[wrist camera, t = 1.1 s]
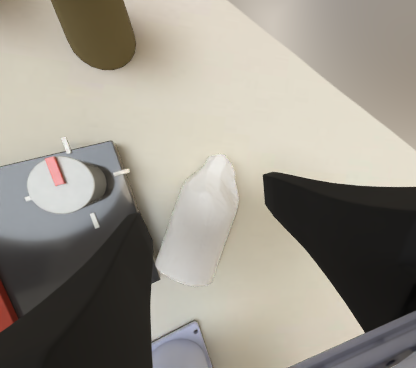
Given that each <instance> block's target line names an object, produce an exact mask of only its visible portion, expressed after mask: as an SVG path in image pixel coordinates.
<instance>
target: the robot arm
mask: <svg viewBox="0 0 416 368" xmlns="http://www.w3.org/2000/svg"><path fill="white" fill-rule="evenodd" d="M263 183H264V197H265V205H266V206H267V208H268V209H269V210H270V212H271V213H272V214H273V216H274V217H275V218H276V219H277V220H278V221H279V222H280V223H281V224H282V225H283V227H284V228H285V229H286V230H287V231H288V232H289V233H290V234H291V235H292V236H293V237H294V238H295V239H296V240H297V241H298V242H299V243H300V244H301V245H302V246H303V247H304V248H305V250H306V251H307V252H308V253H309V254H310V256H311V257H312V258H313V259H314V261H315V262H316V263H317V265H318V266H319V267H320V268H321V270H322V271H323V272H324V274H325V275H326V276H327V278H328V279H329V280H330V282H331V283H332V285H333V286H334V287H335V289H336V290H337V292H338V293H339V294H340V296H341V297H342V299H343V300H344V302H345V303H346V304H347V306H348V307H349V309H350V310H351V312H352V313H353V315H354V317H355V318H356V320H357V321H358V323H359V324H360V326H361V327H362V329H363V330H364V332H365V334H362V335H360V336H358V337H356V338H353V339H351V340H349V341H347V342H344V343H342V344H340V345H338V346H335V347H333V348H331V349H329V350H326V351H324V352H322V353H320V354H317V355H315V356H313V357H311V358H308V359H306V360H304V361H302V362H299V363H297V364H295V365H293V366H290V367H288V368H391V367H392V368H416V187H372V186H355V185H346V184H337V183H329V182H323V181H317V180H312V179H307V178H302V177H298V176H293V175H288V174H283V173H278V172H271V173H267V174H264V175H263ZM152 269H153V245H152V239H151V237H150V234H149V232H148V230H147V228H146V225H145V223H144V221H143V219H142V217H141V214H140V212H137V213H133V214H130V215H127V216H126V218H125V219H124V220H123V221H122V222H121V223H120V225H119V226H118V227H117V228H116V229H115V231H114V232H113V233H112V234H111V235H110V237H109V238H108V239H107V240H106V241H105V242H104V244H103V245H102V246H101V247H100V248H99V249H98V250H97V251H96V252H95V253H94V255H93V256H92V257H91V258H90V259H89V260H88V261H87V262H86V263H85V264H84V265H83V266H82V267H81V268H80V269H79V270H78V271H77V272H76V273H74V274H73V275H72V276H71V277H70V278H69V279H68V280H67V281H66V282H64V283H63V284H62V285H61V286H60V287H58V288H57V289H56V290H55V291H54V292H53V293H51V294H50V295H49V296H48V297H47V298H45V299H44V300H43V301H42V302H40V303H39V304H38V305H37V306H35V307H34V308H33V309H31V310H30V311H29V312H28V313H26V314H25V315H24V316H22V317H21V318H20V319H18V320H17V321H15V322H14V323H13V324H11V325H10V326H9V327H7V328H6V329H5V330H3V331H2V332H0V368H213V367H212V364H211V361H210V358H209V355H208V352H207V349H206V346H205V343H204V340H203V337H202V334H201V331H200V328H199V325H198V323H197V322H196V321H193V322H191V323H189V324H187V325H185V326H183V327H181V328H180V329H178V330H176V331H174V332H172V333H170V334H168V335H166V336H164V337H162V338H160V339H158V340H156V341H155V342H153V343H151V320H150V296H151V283H152ZM196 329H197V330H196ZM194 330H196V331H194ZM395 365H396V366H395ZM393 366H394V367H393Z"/></svg>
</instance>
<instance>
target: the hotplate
mask: <svg viewBox="0 0 416 368" xmlns="http://www.w3.org/2000/svg"><path fill="white" fill-rule="evenodd" d="M17 320H18V317H17V315H16V312H15V310H14V308H13V306H12V304H11V301H10V299H9V297H8V295H7V293H6V290H5V288H4V286H3V284H2V282H1V279H0V332H2V331H3V330H5V329H6V328H7V327H9V326H10V325H11V324H13V323H14V322H15V321H17Z"/></svg>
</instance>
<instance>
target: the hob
mask: <svg viewBox="0 0 416 368" xmlns="http://www.w3.org/2000/svg"><path fill="white" fill-rule="evenodd" d="M61 140H62V142H63V145H64V148H65V150H66V151H64V152H60V153H56V154H52V155H47V156H43V157H39V158H34V159H30V160H26V161H22V162H17V163H13V164H9V165H5V166H0V279H1V282H2V284H3V286H4V288H5V290H6V293H7V295H8V297H9V299H10V301H11V304H12V306H13V308H14V310H15V312H16V315H17V317H18V319H20V318H21V317H22V316H24V315H25V314H26V313H28V312H29V311H30V310H31V309H33V308H34V307H35V306H37V305H38V304H39V303H40V302H42V301H43V300H44V299H45V298H47V297H48V296H49V295H50V294H51V293H53V292H54V291H55V290H56V289H57V288H58V287H60V286H61V285H62V284H63V283H64V282H66V281H67V280H68V279H69V278H70V277H71V276H72V275H73V274H74V273H76V272H77V271H78V270H79V269H80V268H81V267H82V266H83V265H84V264H85V263H86V262H87V261H88V260H89V259H90V258H91V257H92V256H93V255H94V253H95V252H96V251H97V250H98V249H99V248H100V247H101V246H102V245H103V244H104V242H105V241H106V240H107V239H108V238H109V237H110V235H111V234H112V233H113V232H114V231H115V229H116V228H117V227H118V226H119V225H120V223H121V222H122V221H123V220H124V219H125V218H126V216H127V215H130V214H133V213H137V212H140V211H139V209H138V206H137V203H136V200H135V197H134V194H133V191H132V188H131V186H130V183H129V180H128V177H127V174H126V173H129V172H130V170H129V168H128V169H125V168H124V165H123V163H122V160H121V157H120V154H119V151H118V148H117V145H116V144H115V143H114V142H113V141H107V142H103V143H98V144H94V145H90V146H86V147H81V148H77V149H73V150H71V149H70V146H69V143H68V141H67V138H66V137H62V138H61ZM52 156H55V157H56V156H66V157H71V158H75V159H79V160H83V161H87V162H90V163H93V164H94V165H96V166H97V167H99V168H100V169H101V170H102V172H103V173H104V175H105V178H106V183H107V186H106V190H105V193H104V195H103V196H102V198H101V199H100V200H99V201H97V202H96V203H94V204H92V205H90V206H88V207H85V208H83V209H80V210H78V211H75V212H73V213H68V214H55V213H50V212H47V211H45V210H43V209H41V208H40V207H38V206H37V205H36V204H35V203H34V202H33V201H32V199H31V198H30V196H29V193H28V190H27V180H28V177H29V174H30V172H31V171H32V169H33V168H34V167H35V166H36V165H37V164H38V163H40V162H41V161H43V160H45V158H48V157H52ZM155 263H156V257H155V255H154V252H153V269H152V283H154V282H156V281H159V280H160V271H159V270H158V269H157V268H156V266H155ZM152 283H151V284H152Z"/></svg>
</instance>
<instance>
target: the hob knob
mask: <svg viewBox="0 0 416 368" xmlns="http://www.w3.org/2000/svg"><path fill="white" fill-rule="evenodd" d="M106 186H107V183H106V178H105V175H104V173H103V172H102V170H101V169H100V168H99V167H97V166H96V165H94V164H93V163H90V162H87V161H83V160H79V159H75V158H71V157H66V156H56V157H55V156H52V157H48V158H45V160H43V161H41V162H40V163H38V164H37V165H36V166H35V167H34V168H33V169H32V171H31V172H30V174H29V177H28V180H27V190H28V193H29V196H30V198H31V199H32V201H33V202H34V203H35V204H36V205H37V206H38V207H40V208H41V209H43V210H45V211H47V212H50V213H55V214H68V213H73V212H75V211H78V210H80V209H83V208H85V207H88V206H90V205H92V204H94V203H96V202H97V201H99V200H100V199H101V198H102V196H103V195H104V193H105V190H106Z"/></svg>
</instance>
